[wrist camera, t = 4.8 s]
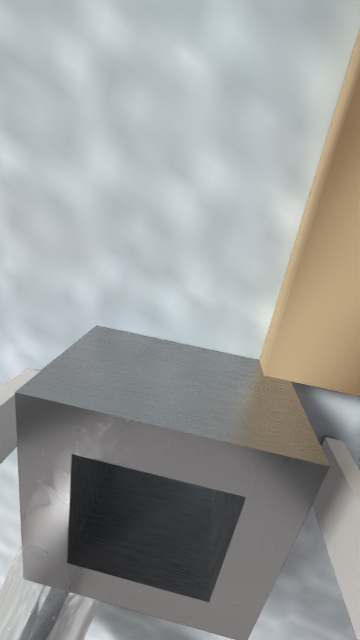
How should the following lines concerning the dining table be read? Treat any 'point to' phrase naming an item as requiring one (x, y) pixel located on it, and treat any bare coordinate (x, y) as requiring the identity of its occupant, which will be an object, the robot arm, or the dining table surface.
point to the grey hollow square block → (163, 478)
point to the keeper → (325, 266)
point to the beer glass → (41, 609)
